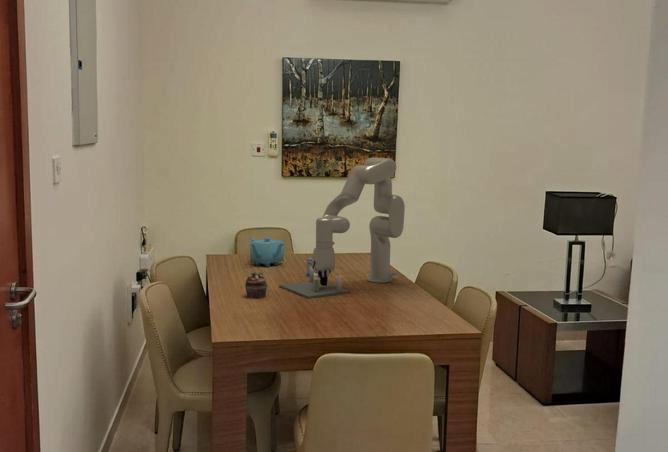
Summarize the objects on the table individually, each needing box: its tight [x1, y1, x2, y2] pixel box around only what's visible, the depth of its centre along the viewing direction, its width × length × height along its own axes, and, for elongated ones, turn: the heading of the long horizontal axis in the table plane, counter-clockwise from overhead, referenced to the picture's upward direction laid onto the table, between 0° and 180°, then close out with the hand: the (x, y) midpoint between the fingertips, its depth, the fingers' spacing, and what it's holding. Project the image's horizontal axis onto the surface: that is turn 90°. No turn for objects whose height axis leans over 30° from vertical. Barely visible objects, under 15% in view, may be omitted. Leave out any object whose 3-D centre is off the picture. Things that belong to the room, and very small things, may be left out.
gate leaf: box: [313, 273, 320, 291], centre depth 291 cm, size 2×19×5 cm, turn 4°
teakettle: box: [249, 237, 286, 268], centre depth 346 cm, size 19×19×15 cm
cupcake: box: [245, 272, 268, 299], centre depth 276 cm, size 10×10×10 cm
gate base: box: [278, 267, 351, 300], centre depth 290 cm, size 22×25×8 cm
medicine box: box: [306, 257, 320, 278], centre depth 320 cm, size 8×4×9 cm, turn 68°
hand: (323, 285), depth 290 cm, fingers closed
